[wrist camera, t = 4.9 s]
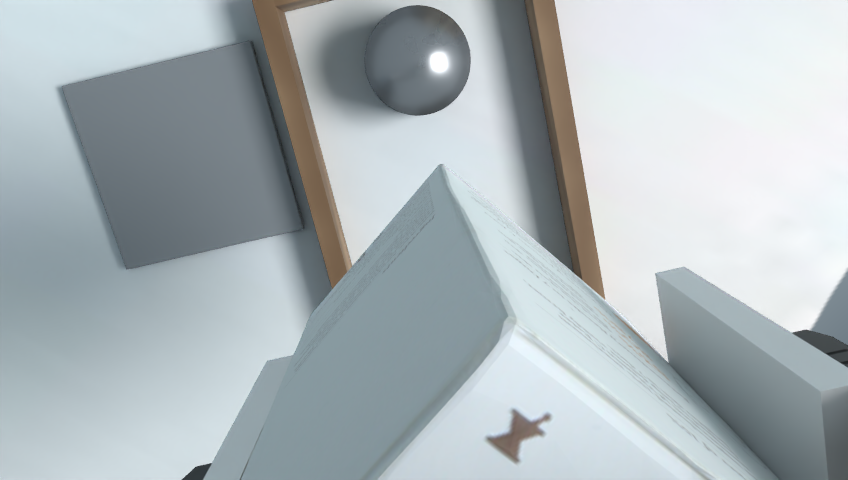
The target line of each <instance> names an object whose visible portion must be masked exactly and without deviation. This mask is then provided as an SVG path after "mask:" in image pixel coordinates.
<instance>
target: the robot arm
mask: <svg viewBox="0 0 848 480" xmlns="http://www.w3.org/2000/svg"><path fill="white" fill-rule="evenodd" d="M655 274H656V281H657V288H658V294H659V301H660V308H661V314H662V321H663V328H664V334H665V341H666V348H667V354H668V361H669V364H670V365H671V367H672V368H673V369H674V370H675V371H676V372H677V373H678V374H679V375H680V376H681V377H682V378H683V379H684V380H685V381H686V382H687V383H688V384H689V385H690V386H691V388H692V389H693V390H694V391H695V392H696V393H697V394H698V395H699V396H700V397H701V398H702V399H703V400H704V401H705V402H706V403H707V404H708V405H709V406H710V407H711V408H712V409H713V410H714V411H715V412H716V413H717V414H718V415H719V416H720V417H721V418H722V419H723V420H724V421H725V422H726V423H727V424H728V425H729V426H730V427H731V428H732V430H733V431H734V432H735V433H736V434H737V435H738V436H739V437H740V438H741V439H742V440H743V441H744V442H745V443H746V444H747V445H748V446H749V448H750V449H751V450H752V451H753V452H754V453H755V454H756V455H757V456H758V457H759V458H760V459H761V460H762V461H763V462H764V463H765V464H766V465H767V467H768V468H769V469H770V470H771V471H772V472H773V473H774V474H775V475H776V476H777V477H778V478H779V479H780V480H848V345H846V344H844V343H843V342H840V341H839V340H837V339H835V338H834V337H831V336H828V335H824V334H820V333H816V332H813V331H809V330H802V331H798V332H793V333H791V332H789V331H788V330H786V329H784V328H783V327H781V326H779V325H778V324H776V323H775V322H773V321H771V320H770V319H768V318H766V317H765V316H763V315H762V314H760V313H758V312H757V311H755V310H753V309H752V308H750V307H749V306H747V305H745V304H744V303H742V302H740V301H739V300H737V299H736V298H734V297H732V296H731V295H729V294H728V293H726V292H724V291H723V290H721V289H719V288H718V287H716V286H715V285H713V284H711V283H710V282H708V281H706V280H705V279H703V278H702V277H700V276H698V275H697V274H695V273H693V272H692V271H690V270H689V269H687V268H685V267H681V268H677V269H673V270H668V271H664V272H659V273H655ZM292 357H293V355H292V356H287V357H283V358H278V359H274V360H270V361H267V362H266V364H265V366H264V367H263V369H262V371H261V373H260V375H259V377H258V379H257V380H256V382H255V384H254V386H253V388H252V390H251V392H250V393H249V395H248V397H247V399H246V401H245V403H244V405H243V406H242V408H241V410H240V412H239V414H238V416H237V418H236V419H235V421H234V423H233V425H232V427H231V429H230V431H229V432H228V434H227V436H226V438H225V440H224V442H223V444H222V446H221V447H220V449H219V451H218V453H217V455H216V457H215V459H214V460H213V462H212V463H210V464H206V465H201V466H197V467H195V468H194V469H193V470H192V471H191V472H190V473H189V474H188V475H186V476H185V477H184V478H183V479H182V480H241V478H242V476H243V473H244V471H245V469H246V467H247V464H248V461H249V458H250V456H251V454H252V452H253V450H254V448H255V445H256V443H257V441H258V438H259V436H260V434H261V432H262V429H263V426H264V424H265V421H266V419H267V416H268V414H269V411H270V409H271V407H272V404H273V402H274V399H275V397H276V395H277V392H278V390H279V387H280V385H281V382H282V380H283V378H284V375H285V373H286V371H287V368H288V366H289V363H290V361H291V359H292Z"/></svg>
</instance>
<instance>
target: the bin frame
mask: <svg viewBox="0 0 848 480" xmlns="http://www.w3.org/2000/svg"><path fill="white" fill-rule="evenodd" d="M328 1H332V0H252V2H253V5H254V9H255V13H256V16H257V20H258V23H259V27H260V31H261V34H262V38H263V41H264V45H265V49H266V52H267V56H268V59H269V63H270V67H271V70H272V74H273V78H274V81H275V85H276V88H277V92H278V96H279V99H280V103H281V106H282V110H283V114H284V117H285V121H286V124H287V128H288V132H289V135H290V139H291V142H292V146H293V150H294V153H295V157H296V160H297V164H298V168H299V171H300V175H301V178H302V182H303V186H304V189H305V193H306V196H307V200H308V204H309V207H310V211H311V214H312V218H313V222H314V225H315V229H316V232H317V236H318V240H319V243H320V247H321V251H322V254H323V258H324V261H325V265H326V269H327V272H328V276H329V279H330V283H331V287H332V289H333V288H334V287H335V286H336V284H337V283H338V282H339V281H340V280H341V279H342V278H343V276H344V275H345V274H346V273H347V272H348V271H349V270H350V268H351V267H352V264H351V260H350V256H349V253H348V249H347V245H346V241H345V238H344V234H343V230H342V226H341V223H340V219H339V215H338V212H337V208H336V204H335V200H334V197H333V193H332V189H331V185H330V182H329V178H328V174H327V170H326V167H325V163H324V159H323V155H322V152H321V148H320V144H319V140H318V137H317V133H316V129H315V125H314V122H313V118H312V114H311V110H310V107H309V103H308V99H307V95H306V92H305V88H304V84H303V81H302V77H301V73H300V69H299V66H298V62H297V58H296V54H295V51H294V47H293V43H292V39H291V36H290V32H289V28H288V24H287V21H286V17H285V13H284V12H287V11H291V10H295V9H299V8H303V7H307V6H311V5H315V4H319V3H323V2H328ZM524 1H525V6H526V12H527V17H528V23H529V28H530V34H531V39H532V45H533V50H534V56H535V61H536V67H537V72H538V78H539V84H540V89H541V95H542V100H543V106H544V111H545V117H546V122H547V128H548V133H549V139H550V144H551V150H552V155H553V161H554V166H555V172H556V177H557V183H558V189H559V194H560V200H561V205H562V211H563V216H564V222H565V227H566V233H567V238H568V244H569V249H570V255H571V260H572V266H573V271H574V274H575V275H577V276H578V277H579V278H580V279H581V280H582V281H584V282H585V283H586V284H587V285H588V286H589V287H591V288H592V289H593V290H594V291H595V292H596V293H598V294H599V295H600V296H601V297H602V298H603V299H605V295H604V289H603V283H602V278H601V272H600V266H599V260H598V254H597V248H596V242H595V236H594V231H593V225H592V219H591V213H590V207H589V201H588V195H587V190H586V184H585V178H584V172H583V166H582V160H581V154H580V148H579V143H578V137H577V131H576V125H575V119H574V113H573V107H572V101H571V96H570V90H569V84H568V78H567V72H566V66H565V60H564V54H563V49H562V43H561V37H560V31H559V25H558V19H557V13H556V7H555V2H554V0H524Z"/></svg>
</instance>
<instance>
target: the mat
mask: <svg viewBox="0 0 848 480" xmlns="http://www.w3.org/2000/svg"><path fill="white" fill-rule="evenodd" d="M61 87H62V89H63V92H64V95H65V98H66V101H67V103H68V106H69V109H70V112H71V115H72V117H73V120H74V123H75V126H76V129H77V131H78V134H79V137H80V140H81V143H82V146H83V148H84V151H85V154H86V157H87V160H88V162H89V165H90V168H91V171H92V174H93V176H94V179H95V182H96V185H97V188H98V190H99V193H100V196H101V199H102V202H103V205H104V207H105V210H106V213H107V216H108V219H109V221H110V224H111V227H112V230H113V233H114V235H115V238H116V241H117V244H118V247H119V249H120V252H121V255H122V258H123V261H124V264H125V266H126V269H132V268H136V267H140V266H145V265H149V264H153V263H158V262H162V261H166V260H171V259H175V258H179V257H184V256H188V255H193V254H197V253H201V252H206V251H210V250H214V249H219V248H223V247H227V246H232V245H236V244H240V243H245V242H249V241H254V240H258V239H262V238H267V237H271V236H275V235H280V234H284V233H288V232H293V231H297V230H301V229H304V225H303V221H302V218H301V214H300V211H299V207H298V204H297V200H296V196H295V193H294V189H293V186H292V182H291V179H290V175H289V172H288V168H287V164H286V161H285V157H284V154H283V150H282V147H281V143H280V140H279V136H278V133H277V129H276V125H275V122H274V118H273V115H272V111H271V108H270V104H269V101H268V97H267V93H266V90H265V86H264V83H263V79H262V76H261V72H260V69H259V65H258V61H257V58H256V54H255V51H254V47H253V44H252V41H247V42H243V43H239V44H234V45H230V46H226V47H222V48H218V49H214V50H210V51H206V52H202V53H197V54H193V55H189V56H185V57H181V58H177V59H173V60H169V61H164V62H160V63H156V64H152V65H148V66H144V67H140V68H136V69H131V70H127V71H123V72H119V73H115V74H111V75H107V76H103V77H99V78H94V79H90V80H86V81H82V82H78V83H74V84H70V85H66V86H61Z"/></svg>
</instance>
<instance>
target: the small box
mask: <svg viewBox="0 0 848 480" xmlns="http://www.w3.org/2000/svg"><path fill="white" fill-rule="evenodd" d="M241 480H780V479H779V478H778V477H777V476H776V475H775V474H774V473H773V472H772V471H771V470H770V469H769V468H768V467H767V465H766V464H765V463H764V462H763V461H762V460H761V459H760V458H759V457H758V456H757V455H756V454H755V453H754V452H753V451H752V450H751V449H750V448H749V446H748V445H747V444H746V443H745V442H744V441H743V440H742V439H741V438H740V437H739V436H738V435H737V434H736V433H735V432H734V431H733V430H732V428H731V427H730V426H729V425H728V424H727V423H726V422H725V421H724V420H723V419H722V418H721V417H720V416H719V415H718V414H717V413H716V412H715V411H714V410H713V409H712V408H711V407H710V406H709V405H708V404H707V403H706V402H705V401H704V400H703V399H702V398H701V397H700V396H699V395H698V394H697V393H696V392H695V391H694V390H693V389H692V388H691V386H690V385H689V384H688V383H687V382H686V381H685V380H684V379H683V378H682V377H681V376H680V375H679V374H678V373H677V372H676V371H675V370H674V369H673V368H672V367H671V365H670V364H669V363H668V362H667V361H666V360H665V359H664V358H663V357H662V356H661V355H660V354H659V353H658V352H657V351H656V350H655V349H654V348H653V346H652V345H651V344H650V343H649V342H648V341H647V340H646V339H645V338H644V337H643V336H642V334H641V333H640V332H639V331H638V330H637V329H636V328H635V327H634V326H633V325H632V324H631V323H630V322H629V321H628V320H627V319H626V318H625V317H624V316H623V315H622V314H620V313H619V312H618V311H617V310H616V309H615V308H614V307H613V306H611V305H610V304H609V303H608V302H607V301H606V300H605V299H603V298H602V297H601V296H600V295H599V294H598V293H596V292H595V291H594V290H593V289H592V288H591V287H589V286H588V285H587V284H586V283H585V282H584V281H582V280H581V279H580V278H579V277H578V276H577V275H575V274H574V273H573V272H572V271H571V270H570V269H568V268H567V267H566V266H565V265H564V264H563V263H561V262H560V261H559V260H558V259H557V258H555V257H554V256H553V255H552V254H551V253H550V252H548V251H547V250H546V249H545V248H544V247H543V246H541V245H540V244H539V243H538V242H537V241H535V240H534V239H533V238H532V237H531V236H530V235H528V234H527V233H526V232H525V231H524V230H523V229H521V228H520V227H519V226H518V225H517V224H515V223H514V222H513V221H512V220H511V219H510V218H508V217H507V216H506V215H505V214H504V213H502V212H501V211H500V210H499V209H498V208H497V207H495V206H494V205H493V204H492V203H491V202H490V201H488V200H487V199H486V198H485V197H484V196H482V195H481V194H480V193H479V192H478V191H476V190H475V189H474V188H473V187H472V186H470V185H469V184H468V183H467V182H465V181H464V180H463V179H462V178H460V177H459V176H458V175H457V174H455V173H454V172H453V171H452V170H450V169H449V168H448V167H446V166H445V165H443V164H440V165H438V167H437V168H436V169H435V170H434V171H433V173H432V174H431V175H430V176H429V177H428V179H427V180H426V181H425V182H424V183H423V184H422V186H421V187H420V188H419V189H418V190H417V191H416V192H415V194H414V195H413V196H412V197H411V198H410V200H409V201H408V202H407V203H406V204H405V205H404V207H403V208H402V209H401V210H400V211H399V212H398V214H397V215H396V216H395V217H394V218H393V219H392V221H391V222H390V223H389V224H388V225H387V226H386V228H385V229H384V230H383V231H382V232H381V233H380V235H379V236H378V237H377V238H376V239H375V240H374V242H373V243H372V244H371V245H370V246H369V247H368V249H367V250H366V251H365V252H364V253H363V254H362V256H361V257H360V258H359V259H358V260H357V261H356V263H355V264H354V265H353V266H352V267H351V268H350V270H349V271H348V272H347V273H346V274H345V275H344V276H343V278H342V279H341V280H340V281H339V282H338V283H337V284H336V286H335V287H334V288H333V289H332V290H331V292H330V293H329V294H328V295H327V296H326V297H325V299H324V300H323V301H322V302H321V303H320V304H319V306H318V307H317V308H316V309H315V310H314V311H313V313H312V314H311V316H310V318H309V320H308V322H307V325H306V327H305V330H304V332H303V334H302V337H301V339H300V342H299V344H298V346H297V348H296V351H295V353H294V355H293V357H292V359H291V361H290V363H289V366H288V368H287V371H286V373H285V375H284V378H283V380H282V382H281V385H280V387H279V390H278V392H277V395H276V397H275V399H274V402H273V404H272V407H271V409H270V411H269V414H268V416H267V419H266V421H265V424H264V426H263V429H262V432H261V434H260V436H259V438H258V441H257V443H256V445H255V448H254V450H253V452H252V454H251V456H250V458H249V461H248V464H247V467H246V469H245V471H244V473H243V476H242V478H241Z"/></svg>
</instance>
